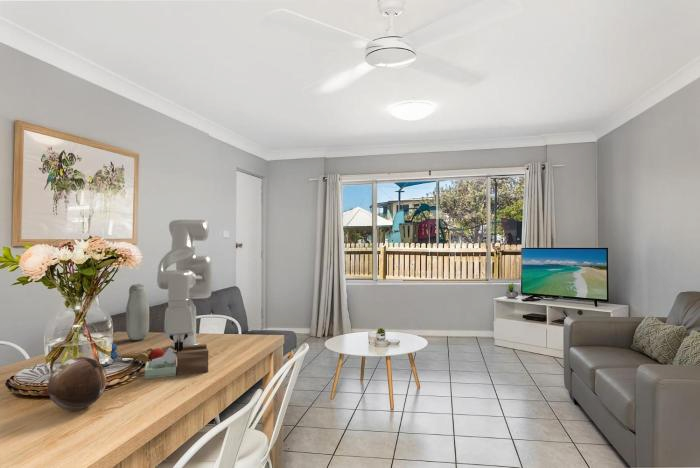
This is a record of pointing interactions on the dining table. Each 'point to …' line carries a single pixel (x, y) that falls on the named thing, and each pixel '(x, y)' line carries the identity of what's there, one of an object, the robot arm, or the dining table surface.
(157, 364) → the chip
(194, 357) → the slot block
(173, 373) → the tray
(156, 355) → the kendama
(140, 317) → the grey bottle vase
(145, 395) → the dining table surface
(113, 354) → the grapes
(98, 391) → the wooden sphere
